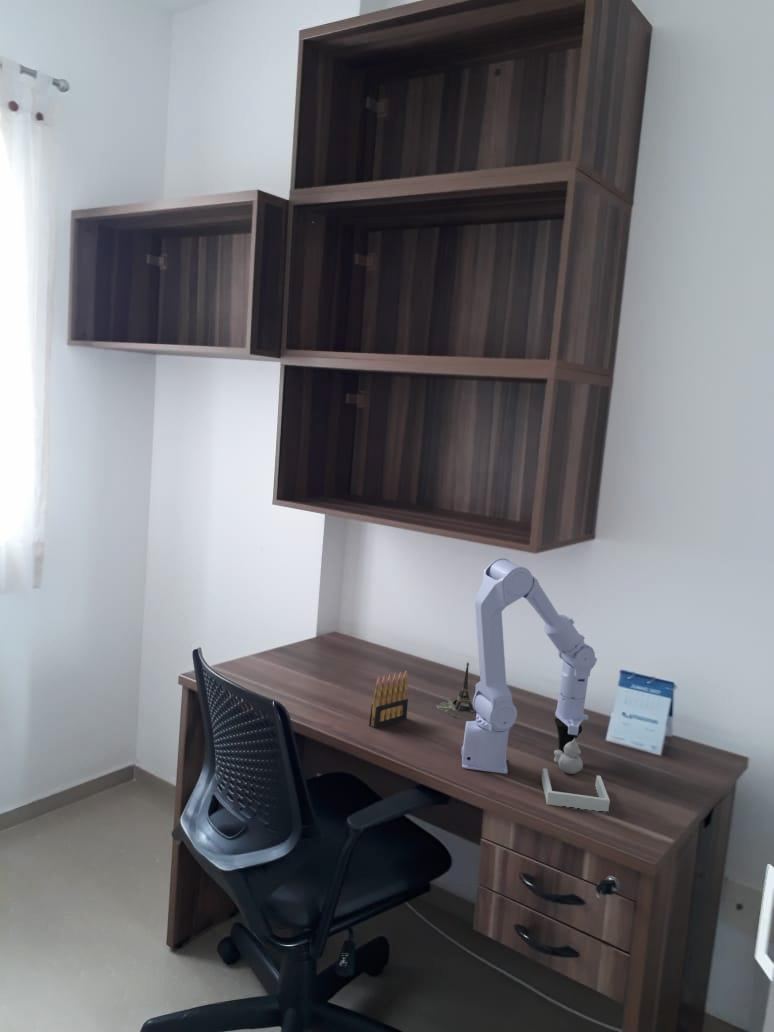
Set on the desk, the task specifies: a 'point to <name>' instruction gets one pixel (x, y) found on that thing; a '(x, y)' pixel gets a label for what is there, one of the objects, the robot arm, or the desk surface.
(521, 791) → the desk surface
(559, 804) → the bay
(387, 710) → the ammunition clip
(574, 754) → the rubber duck
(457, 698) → the eiffel tower figurine
